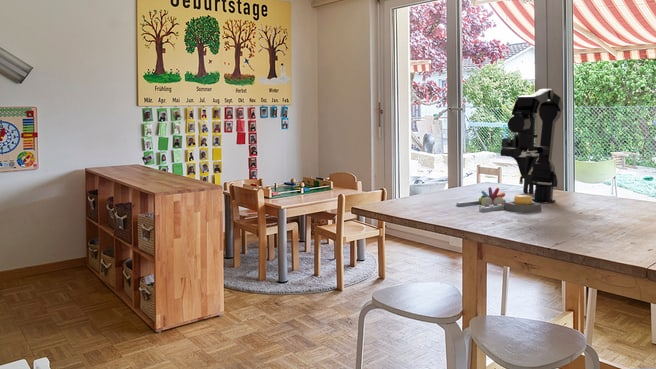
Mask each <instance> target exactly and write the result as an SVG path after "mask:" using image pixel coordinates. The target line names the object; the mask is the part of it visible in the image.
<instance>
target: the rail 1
mask: <svg viewBox="0 0 656 369" xmlns="http://www.w3.org/2000/svg"><path fill="white" fill-rule="evenodd" d="M476 205H482V203H481V202H479V199H477V200H469V201H460V202H456V206H457V207H464V206H465V207H467V206H476Z"/></svg>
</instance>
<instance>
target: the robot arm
mask: <svg viewBox="0 0 656 369" xmlns="http://www.w3.org/2000/svg"><path fill="white" fill-rule="evenodd" d="M563 110H564V104H563V101H562V98H561V97H560V96H559V95H558V94H556V93H555V92H554V89H552V88H540V89H538V90H537V91H535V92H533V93H531V94H529V95H518V97H517V98H516V99H515V102H514V105H513V108H512V111H511V117H510V119H508V122H507V127H508V129H509V131H511V132H512V133H515V134H514V137H513V138H512V139H510V138H508V137H504V138H502V139H501V149H500V157H510V158H513V160H515V161H516V163H517V164H516V165H517V167H518V170H519V174H520V177H521V176H524V175H526V176H527V175H528V173H529V172H530V170H531V168H532V166H533V170H532V171H531V184H532V185H534V186H535V188H534V198H532V202H537V203H542V204H544V203H553V202H554V203H555V202H556V199H553V196H554V195H553V194H554V188H557V187H558V185H559V183H558V182H559V180H558V175H557V173H556V167H555V165H554V163H553V161H552V157H553V148H554V146H553V145H554V138H555V129H556V122H558V120H559V119H560V117H561V116H562V112H563ZM537 114H538V116H539V118H540V120H541V122H542V123H541V132H540V140H539V145H535V140H536V139H537V138H538V134H536V122H537V121H536V118H537ZM535 138H536V139H535ZM537 154H538V155H537ZM536 161H537V162H536ZM535 162H536V163H535Z"/></svg>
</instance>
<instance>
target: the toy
mask: <svg viewBox="0 0 656 369" xmlns="http://www.w3.org/2000/svg"><path fill="white" fill-rule="evenodd" d="M536 162H537V160H536ZM536 162H535V163H536ZM532 170H533V166H532V168H531V170H530V172H529V173H528V175H527V176H526V175H524V176H521V175H520V177H519V185H523V187H522V188H523V189H522V190H523V193H524V194H527V193H529V194H533V193H535V188H534V186H535V185H532V184H531V171H532Z"/></svg>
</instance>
